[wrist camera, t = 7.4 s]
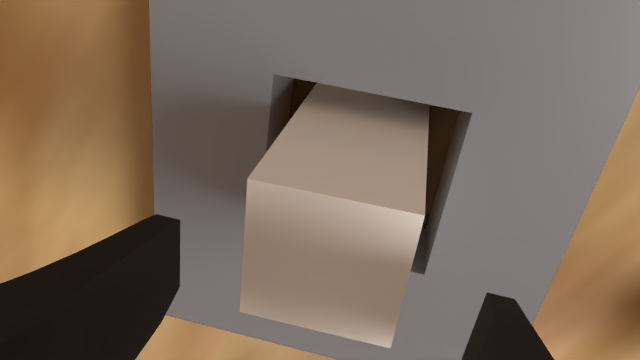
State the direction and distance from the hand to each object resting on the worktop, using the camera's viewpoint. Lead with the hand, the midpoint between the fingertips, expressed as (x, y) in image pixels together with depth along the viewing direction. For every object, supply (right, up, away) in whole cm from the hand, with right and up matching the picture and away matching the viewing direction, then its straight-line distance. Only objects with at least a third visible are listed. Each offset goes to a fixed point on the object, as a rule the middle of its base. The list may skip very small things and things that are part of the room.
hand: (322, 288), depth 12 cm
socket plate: (+2, +4, +7) cm, 8 cm away
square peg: (+2, +4, +7) cm, 9 cm away
